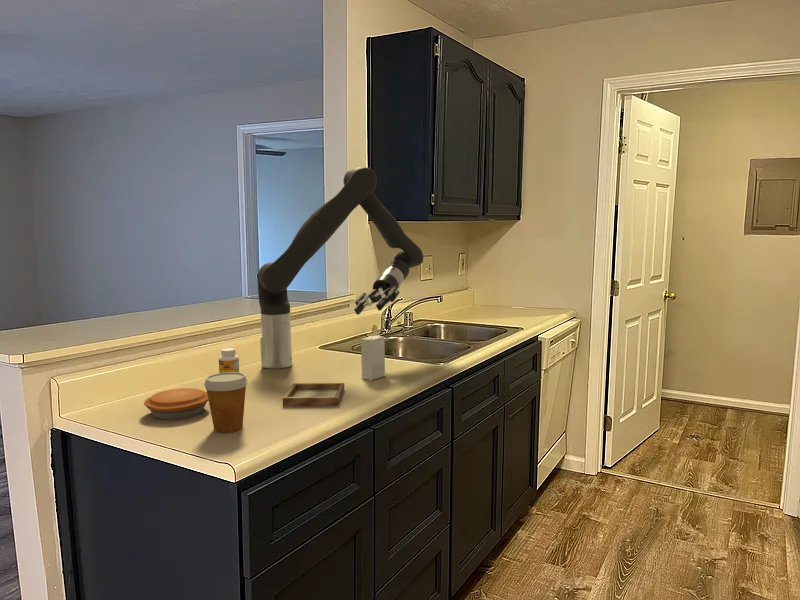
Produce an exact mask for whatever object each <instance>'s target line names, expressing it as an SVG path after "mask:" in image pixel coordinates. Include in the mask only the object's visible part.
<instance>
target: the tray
mask: <svg viewBox="0 0 800 600" xmlns="http://www.w3.org/2000/svg"><path fill="white" fill-rule="evenodd" d="M344 393H345V383H344V382H319V383H318V382H313V383H312V382H306V383H305V382H301V383H300V382H297V383H296V382H295V383H294V382H293V383H292V384H291V386H290V387H289V388H288V389H287V392H286V393H285V394H284V396H283V397H282V407H283V408H285V407H298V408H299V407H339V406H338V405H340V403H341V400H342V397H343V396H344Z"/></svg>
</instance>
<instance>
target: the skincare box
mask: <svg viewBox="0 0 800 600" xmlns="http://www.w3.org/2000/svg"><path fill="white" fill-rule="evenodd" d="M360 348H361V349H360V351H361V353H360V355H361V357H360V358H361V378H362V379H365V380H367V381H368V380H369V381H374V380H376V379H380V378H383V377H385V375H386V365H385V364H386V363H385V361H386V360H385V358H386V355H385V354H386V353H385V352H386V351H385V348H386V347H385V336H381V335H371V336H367V337H362V338H361V339H360Z"/></svg>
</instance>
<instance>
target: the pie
mask: <svg viewBox="0 0 800 600" xmlns="http://www.w3.org/2000/svg"><path fill="white" fill-rule="evenodd" d="M207 403H209V400H208V395H207V391H203V390H202V389H199V388H194V387H193V388H192V387H189V388H188V387H187V388H186V387H183V388H174V389H167V390H162V391H159V392H157V393H154V394H152V395H150V396H149V397H147V398H146V399H145V400H144V403H143V405H144V406H145V407H146V408H147V409H148V410H149V411H150V412H151V413H152V415H153V417H155V418H156V419H159V420H165V419H169V420H170V421H171V419H174V420H182V419H187V418H192V417H194V416H197V415H199V414H201V413H202V412H203V410H204V408H205V407H206V405H207Z"/></svg>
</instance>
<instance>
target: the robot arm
mask: <svg viewBox="0 0 800 600" xmlns="http://www.w3.org/2000/svg"><path fill="white" fill-rule="evenodd" d="M377 184H378V177H377V174H376V172H375V171H374V170H373V169H372V168H369V167H366V166H359V167H354V168H350V169H349V170H347V171H346V172H345V174H344V177H343V187H342V188H341V190H339V192H337V194H336V195H334V197H332V198H331V199H329V200H328V201H326V202H325V203H324V204H322V205H321V206H319V208H317V209H316V210H315V211H314V212H313V213H312V214H311V215H310V216H309V217H308V218H307V219H306V221H304V222H303V224H302V225H301V226H300V228H299V229H298V231H297V232H296V234H295V236H294V238H293V239H292V241H291V243H290V244H289V246H288V247H287V249H286V250H285V251H284V252H283V253H282V254H281V255H280V256H279V257H278V258H277V259H276V260H275V261H273V262H272V261H271V262H267V263H265V264H263V265H262V266H261V267H260V268H259V269H258V270H259V271H258V272H257V291H258V292H257V293H258V303H259V307H260V320H261V321H260V323H261V337H260V339H259V340H260V361H261V362H260V363H261V368H266V369H285V368H289V367H291V366H292V365H293V347H292V322H291V305H290V301H289V297H288V287H289V286H290V285H291V284H292V283H293V281H294V279H295V278H296V277H297V275H298V274H299V272H300V271H301V270H302V268H303V267H304V266H305V264H306V263H307V262H308V261H309V260H310V259H312V258H313V256H315V254H316V253H317V252H319V250H320V249H321V248H322V247H323V246H324V245H326V243H327V242H328V241H329V240H330V238H332V236H333V235H334V234H335V233H336V231H337V230H338V229H339V228H340V227H341V226H342V224H343V223H344V222H345V221H346V220H347V219H348V217H349V216H350V214H351V213H352V212H353V211H354V210H355V209H356V208H358V206H360V207H361V208H362V210H363V211H364V212H365V214H367V216H368V217H369V219H370V220H371V221H372V223H373V224H374V226H375V227H376V229H377V231H378V232H379V234H380V235H381V237H382V238H383V240H384V241H385V243H386V244H387V246H388V247H389V248H390V249H400V250H399V251H396V252H395V253H394V254H393V255H392V258H391V261H390V264H389V265H388V266H387V268H386V269H385V270H383V272H381V274H380V275H379V276H378V277H377V278H376V280H375V281H374V282H373V285H372V289H371V290H370V292H369V293H366V292H362V293H361V295H360V296H359V297H357V299H356V300H355V301H354V304H355V305H356V306H355V308H354V312H355V315H357V316H358V315H360V314H361V313H362V312H363V311H364V309H365V308H367V307H371V306H372V305H375V304H376V305H375V307H376V309H377V310H378V311H382V309H383V308H384V307H385V306H386V305H388V304H389V303H393V302H395V300H396V299H397V297H398V296H399V295H400V290H399V289H400V288H401V287H402V284H403V283H404V281H405V280H406V279H407V277H408V275H409V274H410V269H412V268H415V267H418V266H420V265H421V264H422V263H423V262H424V254H423V251H422V250H421V248H420V247H419V246H418V245H417V243H415V242H414V241H413V240H412V239H411V238H410V237H409V236H408V235H407V234H406V233H405V232H404V230H403V228H402V227H401V226H400V223H399V222H398V221H397V219H396V218H395V217H394V216H393V214H392V213H391V212H390V211H389V210H388V209H387V208H386V207H385V206H384V205H383V204H382V202H381V201H380V200H379V199H378V197H377V195H376V194H375V190H376V187H377ZM369 299H370V301H369Z"/></svg>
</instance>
